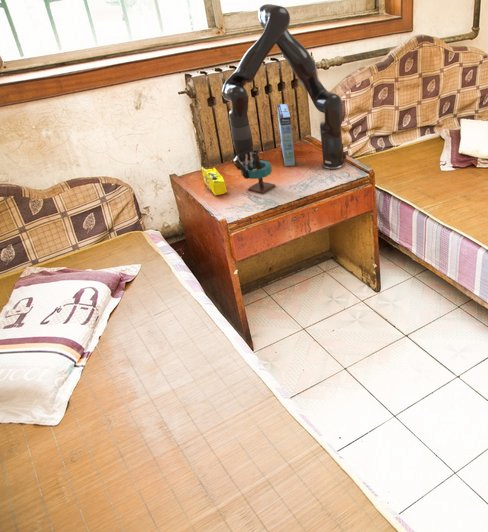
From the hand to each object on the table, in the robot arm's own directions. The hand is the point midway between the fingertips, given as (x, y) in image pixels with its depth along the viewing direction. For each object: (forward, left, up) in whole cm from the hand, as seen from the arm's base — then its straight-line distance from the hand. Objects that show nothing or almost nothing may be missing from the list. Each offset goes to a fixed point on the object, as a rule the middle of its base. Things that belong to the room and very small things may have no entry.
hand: (248, 176), depth 222 cm
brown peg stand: (-7, 0, -8) cm, 10 cm away
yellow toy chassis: (+3, -18, -8) cm, 20 cm away
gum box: (-39, -10, -8) cm, 41 cm away
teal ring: (-5, 0, 0) cm, 5 cm away
